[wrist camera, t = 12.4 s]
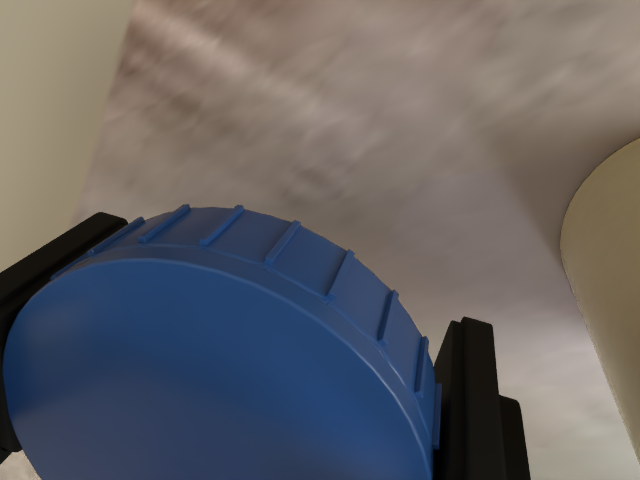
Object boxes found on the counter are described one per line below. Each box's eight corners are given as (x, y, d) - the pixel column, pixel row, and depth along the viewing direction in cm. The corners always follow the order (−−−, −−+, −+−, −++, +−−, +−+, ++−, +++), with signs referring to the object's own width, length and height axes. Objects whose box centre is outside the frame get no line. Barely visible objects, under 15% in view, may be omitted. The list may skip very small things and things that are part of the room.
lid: (199, 106, 7) (121, 137, 6) (536, 414, 8) (555, 522, 6) (26, 356, 11) (-56, 422, 9) (276, 558, 11) (244, 655, 10)
